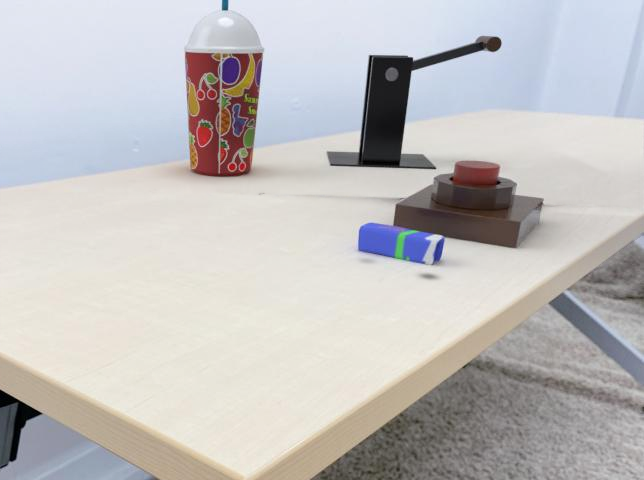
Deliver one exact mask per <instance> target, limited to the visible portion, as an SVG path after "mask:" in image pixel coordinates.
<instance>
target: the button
mask: <svg viewBox="0 0 644 480" xmlns="http://www.w3.org/2000/svg"><path fill="white" fill-rule="evenodd" d="M500 171H501V165H500V164H498V163H495V162H492V161H491V162H490V161H483V160H458V161H456V162H455V163H454V168H453V173H454V174H453V182H457V183H461V184H468V185H483V186H491V185H497V182H498V177H500V176H499V175H500Z"/></svg>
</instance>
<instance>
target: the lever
mask: <svg viewBox="0 0 644 480" xmlns="http://www.w3.org/2000/svg"><path fill="white" fill-rule="evenodd" d="M502 44H503V43H502V39H501V38H500V37H499V36H492V35H480V36H479V37H477V38H476V39H475V41H474V42H471V43H467V44H465V45H460V46H457V47H454V48H451V49H448V50H444V51H441V52H438V53H434V54H431V55H426V56H424V57H421V58H420V57H419V58H417V59H413V65H412V72H414V71H418V70H420V69H424V68H427V67H430V66H434V65H438V64H442V63H444V62H449V61H451V60H455V59H459V58H462V57H465V56H469V55H472V54H477V53H479V52H489V53H496V52H498V51H499V50H500V49H501V47H502Z"/></svg>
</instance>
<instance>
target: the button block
mask: <svg viewBox="0 0 644 480" xmlns="http://www.w3.org/2000/svg"><path fill="white" fill-rule="evenodd" d="M453 174H454V172H450V173H440V174H438V175H436V176H434V177H433V181H432V184H431V183H430V184H429V185H428V186H426V187H424V188H422V189H420V190H419V191H417V192H415V193H413V194H411V195H409V196H408V197H406V198H404V199H402V200H400V201H399V202H397V203H395V207H394V216H393V223H392V226H396V227H401V228H406V229H410V230H415V231H420V232H425V233H430V234H436V235H441V236H444V238H448V239H453V240H461V241H467V242H473V243H478V244H486V245H491V246H497V247H504V248H510V249H517V248H518V247H519V245H520V244H521V243H523V241H524V240H525V238H527V236H529V234H530V233H531V232H532V231H533V229H534V228H535V227H536V226H537V225H538V224H539V223H540V219H541V214H542V209H543V205H544V198H543V197H536V196H527V195H519V194H516V191H517V186H518V183H517V182H515V181H514V180H512V179H510V178H506V177H502V176H498V182H497V185H491V186H483V185H468V184H461V183H457V182H453Z"/></svg>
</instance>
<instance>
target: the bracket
mask: <svg viewBox="0 0 644 480" xmlns="http://www.w3.org/2000/svg"><path fill="white" fill-rule="evenodd" d="M367 58H368V59H367V69H366V77H365V78H366V79H365V87H364V98H363V108H362V118H361V126H360V134H359V135H360V137H359V145H358V146H359V147H358V151H331V150H329V151H326V156H327V159H328V163H329V166H330V167H349V168H350V167H352V168H382V169H383V168H384V169H410V170H411V169H412V170H413V169H414V170H437V166H436V165H434V164H433V162H432V161H430V159H428V157H426V156H425V154H423V153H402V151H403V142H404V134H405V129H406V128H405V126H406V121H407V120H406V118H407V111H408V102H409V95H410V87H411V79H412V73H413V71H412V65H413V60H414V57H413V56H409V55H404V54H403V55H402V54H401V55H400V54H399V55H398V54H397V55H395V54H368V57H367Z"/></svg>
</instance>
